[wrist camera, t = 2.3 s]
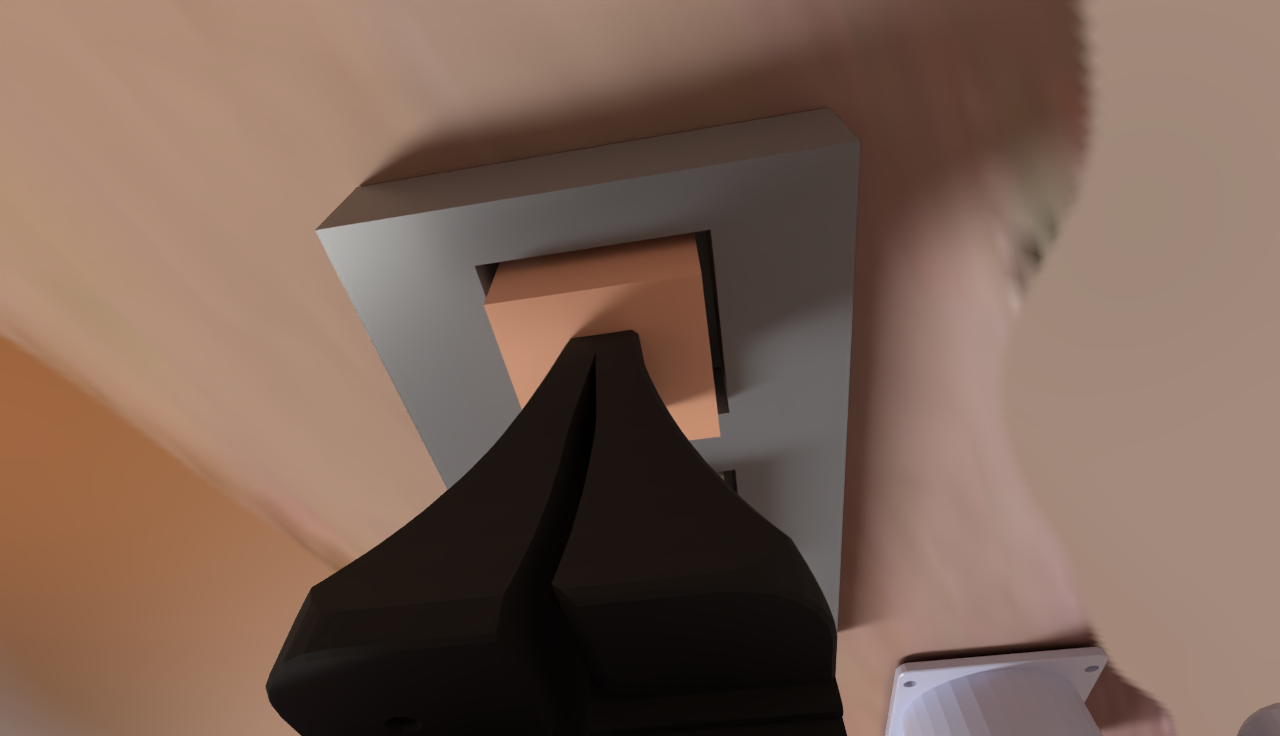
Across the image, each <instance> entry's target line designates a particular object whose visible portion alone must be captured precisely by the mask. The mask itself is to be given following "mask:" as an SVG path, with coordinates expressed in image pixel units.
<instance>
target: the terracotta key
mask: <svg viewBox="0 0 1280 736" xmlns="http://www.w3.org/2000/svg"><path fill="white" fill-rule="evenodd" d="M484 308H485V310H486V313H487V316H488V319H489V321H490V324H491V327H492V329H493V332H494V335H495V338H496V340H497V343H498V346H499V349H500V351H501V354H502V357H503V360H504V362H505V365H506V368H507V371H508V373H509V376H510V379H511V381H512V384H513V387H514V390H515V392H516V395H517V398H518V401H519V403H520V406H521V409H523V408H524V406H525V405H526V404H527V402H528V401H529V399H530V398H531V397H532V395H533V394H534V392H535V391H536V389H537V388H538V387H539V385H540V384H541V382H542V381H543V379H544V378H545V376H546V375H547V373H548V372H549V370H550V369H551V367H552V366H553V364H554V362H555V361H556V359H557V358H558V356H559V355H560V353H561V351H562V350H563V348H564V347H565V345H566V344H567V343H568V341H569V340H570V339H571V338H577V337H584V336H591V335H598V334H605V333H612V332H619V331H626V330H633V331H635V332H636V333H638V334H639V338H640V343H641V348H642V353H643V358H644V363H645V366H646V369H647V371H648V373H649V376H650V378H651V380H652V382H653V384H654V386H655V388H656V390H657V392H658V394H659V396H660V397H661V399H662V401H663V403H664V404H665V406H666V408H667V409H668V411H669V412H670V414H671V416H672V417H673V419H674V420H675V422H676V423H677V425H678V426H679V428H680V429H681V431H682V432H683V433H684V435H685V436H686V437H687V439H688V440H697V439H705V438H713V437H721V436H720V428H719V419H718V411H717V402H716V394H715V385H714V377H713V368H712V360H711V351H710V343H709V334H708V326H707V317H706V309H705V300H704V292H703V283H702V275H701V268H700V263H699V257H698V252H697V246H696V240H695V235H694V232H692V233H685V234H679V235H672V236H666V237H659V238H653V239H646V240H640V241H633V242H627V243H620V244H614V245H607V246H601V247H594V248H588V249H581V250H575V251H568V252H562V253H555V254H548V255H542V256H535V257H529V258H522V259H516V260H509V261H503V262H500V263H499V266H498V268H497V271H496V273H495V276H494V279H493V281H492V284H491V287H490V289H489V292H488V295H487V297H486V300H485V303H484Z"/></svg>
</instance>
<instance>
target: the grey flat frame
mask: <svg viewBox="0 0 1280 736" xmlns="http://www.w3.org/2000/svg"><path fill="white" fill-rule="evenodd" d="M860 149H861V141H860V140H859V139H858V138H857V136H856V135H855V134H854V133H853V132H852V131H851V130H850V129H849V128H848V127H847V126H846V125H845V124H844V123H843V122H842V121H841V120H840V118H839V117H838V116H837V115H836V114H835V113H834V112H833V111H832V110H831V109H830V108H829V107H828V108H823V109H817V110H811V111H805V112H799V113H793V114H787V115H781V116H775V117H769V118H763V119H757V120H752V121H746V122H740V123H734V124H728V125H722V126H716V127H710V128H704V129H698V130H692V131H686V132H680V133H675V134H669V135H663V136H657V137H651V138H645V139H639V140H633V141H627V142H621V143H615V144H609V145H604V146H598V147H592V148H586V149H580V150H574V151H568V152H562V153H556V154H550V155H544V156H538V157H533V158H527V159H521V160H515V161H509V162H503V163H497V164H491V165H485V166H479V167H473V168H467V169H462V170H456V171H450V172H444V173H438V174H432V175H426V176H420V177H414V178H408V179H402V180H396V181H391V182H385V183H379V184H373V185H367V186H361V187H357V188H356V189H355V190H354V191H353V192H352V193H351V194H350V195H349V196H348V197H347V198H346V199H345V200H344V201H343V202H342V203H341V204H340V205H339V206H338V207H337V208H336V209H335V210H334V211H333V212H332V213H331V214H330V215H329V216H328V217H327V218H326V220H325V221H324V222H323V223H322V224H321V225H320V226H319V227H318V228H317V229H316V230H315V231H316V233H317V235H318V237H319V239H320V241H321V243H322V245H323V247H324V249H325V251H326V253H327V255H328V257H329V259H330V261H331V263H332V265H333V267H334V268H335V270H336V272H337V274H338V276H339V278H340V280H341V282H342V284H343V286H344V288H345V290H346V292H347V294H348V296H349V298H350V300H351V302H352V304H353V306H354V308H355V310H356V311H357V313H358V315H359V317H360V319H361V321H362V323H363V325H364V327H365V329H366V331H367V333H368V335H369V337H370V339H371V341H372V343H373V345H374V347H375V349H376V351H377V353H378V354H379V356H380V358H381V360H382V362H383V364H384V366H385V368H386V370H387V372H388V374H389V376H390V378H391V380H392V382H393V384H394V386H395V388H396V390H397V392H398V394H399V396H400V397H401V399H402V401H403V403H404V405H405V407H406V409H407V411H408V413H409V415H410V417H411V419H412V421H413V423H414V425H415V427H416V429H417V431H418V433H419V435H420V437H421V439H422V441H423V442H424V444H425V446H426V448H427V450H428V452H429V454H430V456H431V458H432V460H433V462H434V464H435V466H436V468H437V470H438V472H439V474H440V476H441V478H442V480H443V482H444V484H445V485H446V487H447V489H449V488H450V487H452V486H453V485H454V484H455V483H456V482H457V481H458V480H459V479H461V478H462V477H463V476H464V475H465V474H466V473H467V472H468V471H469V470H470V469H471V468H472V467H473V466H474V465H475V464H476V463H477V462H478V461H479V460H480V459H481V458H482V457H483V456H484V455H485V454H486V453H487V452H488V451H489V450H490V448H491V447H492V446H493V445H494V444H495V443H496V442H497V441H498V439H499V438H500V437H501V436H502V435H503V433H504V432H505V431H506V430H507V428H508V427H509V426H510V424H511V423H512V422H513V421H514V419H515V418H516V417H517V416H518V414H519V413H520V412H521V411H522V409H521V406H520V403H519V401H518V398H517V395H516V392H515V390H514V387H513V384H512V381H511V379H510V376H509V373H508V371H507V368H506V365H505V362H504V360H503V357H502V354H501V351H500V349H499V346H498V343H497V340H496V338H495V335H494V332H493V329H492V327H491V324H490V321H489V319H488V316H487V313H486V310H485V308H484V303H485V300H486V297H487V295H488V292H489V289H490V287H491V284H492V281H493V279H494V276H495V273H496V271H497V268H498V266H499V263H500V262H503V261H509V260H516V259H522V258H529V257H535V256H542V255H548V254H555V253H562V252H568V251H575V250H581V249H588V248H594V247H601V246H607V245H614V244H620V243H627V242H633V241H640V240H646V239H653V238H659V237H666V236H672V235H679V234H685V233H692V232H694V235H695V240H696V246H697V252H698V257H699V263H700V268H701V275H702V283H703V292H704V300H705V309H706V317H707V326H708V334H709V343H710V351H711V360H712V368H713V377H714V385H715V394H716V402H717V411H718V419H719V428H720V436H721V437H713V438H705V439H697V440H689V441H690V443H691V444H692V445H693V446H694V448H695V449H696V450H697V451H698V453H699V454H700V455H701V456H702V457H703V458H704V460H705V461H706V462H707V463H708V464H709V465H710V466H711V467H712V469H713V470H714V471H715V472H722V471H723V474H724V480H725V482H726V483H727V484H728V485H729V486H730V487H731V488H732V489H733V490H734V491H735V492H736V493H737V494H738V495H739V496H740V497H741V498H743V499H744V500H745V501H746V502H747V503H748V504H749V505H750V506H751V507H753V508H754V509H755V510H756V511H757V512H758V513H760V514H761V515H762V516H763V517H764V518H766V519H767V520H768V521H769V522H771V523H772V524H773V525H774V526H776V527H777V528H778V529H780V530H781V531H782V532H784V533H785V534H786V535H788V536H789V537H790V538H791V539H792V540H793V542H794V544H795V545H796V547H797V548H798V550H799V552H800V553H801V555H802V556H803V558H804V560H805V561H806V563H807V564H808V566H809V568H810V570H811V571H812V573H813V575H814V576H815V578H816V580H817V582H818V584H819V586H820V588H821V590H822V592H823V594H824V596H825V598H826V600H827V603H828V605H829V608H830V610H831V613H832V615H833V618H834V621H835V626H836V631H837V628H838V607H839V586H840V565H841V544H842V524H843V503H844V482H845V461H846V440H847V420H848V399H849V378H850V357H851V336H852V316H853V295H854V274H855V253H856V232H857V212H858V191H859V170H860Z"/></svg>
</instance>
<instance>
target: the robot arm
mask: <svg viewBox="0 0 1280 736" xmlns="http://www.w3.org/2000/svg"><path fill="white" fill-rule="evenodd" d="M836 652H837V631H836V626H835V621H834V618H833V615H832V613H831V610H830V608H829V605H828V603H827V600H826V598H825V596H824V594H823V592H822V590H821V588H820V586H819V584H818V582H817V580H816V578H815V576H814V575H813V573H812V571H811V570H810V568H809V566H808V564H807V563H806V561H805V560H804V558H803V556H802V555H801V553H800V552H799V550H798V548H797V547H796V545H795V544H794V542H793V540H792V539H791V538H790V537H789V536H788V535H786V534H785V533H784V532H782V531H781V530H780V529H778V528H777V527H776V526H774V525H773V524H772V523H771V522H769V521H768V520H767V519H766V518H764V517H763V516H762V515H761V514H760V513H758V512H757V511H756V510H755V509H754V508H753V507H751V506H750V505H749V504H748V503H747V502H746V501H745V500H744V499H743V498H741V497H740V496H739V495H738V494H737V493H736V492H735V491H734V490H733V489H732V488H731V487H730V486H729V485H728V484H727V483H726V482H725V481H724V480H723V479H722V478H721V477H720V476H719V475H718V474H717V473H716V472H715V471H714V470H713V469H712V467H711V466H710V465H709V464H708V463H707V462H706V461H705V460H704V458H703V457H702V456H701V455H700V454H699V453H698V451H697V450H696V449H695V448H694V446H693V445H692V444H691V443H690V441H689V440H688V439H687V437H686V436H685V435H684V433H683V432H682V431H681V429H680V428H679V426H678V425H677V423H676V422H675V420H674V419H673V417H672V416H671V414H670V412H669V411H668V409H667V408H666V406H665V404H664V403H663V401H662V399H661V397H660V396H659V394H658V392H657V390H656V388H655V386H654V384H653V382H652V380H651V378H650V376H649V373H648V371H647V369H646V366H645V363H644V358H643V353H642V348H641V343H640V338H639V334H638V333H636V332H635V331H633V330H626V331H619V332H612V333H605V334H598V335H591V336H584V337H577V338H571V339H570V340H569V341H568V343H567V344H566V345H565V347H564V348H563V350H562V351H561V353H560V355H559V356H558V358H557V359H556V361H555V362H554V364H553V366H552V367H551V369H550V370H549V372H548V373H547V375H546V376H545V378H544V379H543V381H542V382H541V384H540V385H539V387H538V388H537V389H536V391H535V392H534V394H533V395H532V397H531V398H530V399H529V401H528V402H527V404H526V405H525V406H524V408H523V409H522V411H521V412H520V413H519V414H518V416H517V417H516V418H515V419H514V421H513V422H512V423H511V424H510V426H509V427H508V428H507V430H506V431H505V432H504V433H503V435H502V436H501V437H500V438H499V439H498V441H497V442H496V443H495V444H494V445H493V446H492V447H491V448H490V450H489V451H488V452H487V453H486V454H485V455H484V456H483V457H482V458H481V459H480V460H479V461H478V462H477V463H476V464H475V465H474V466H473V467H472V468H471V469H470V470H469V471H468V472H467V473H466V474H465V475H464V476H463V477H462V478H461V479H459V480H458V481H457V482H456V483H455V484H454V485H453V486H452V487H450V488H449V489H448V490H447V491H446V492H445V493H444V494H443V495H441V496H440V497H439V498H438V499H437V500H436V501H435V502H433V503H432V504H431V505H430V506H429V507H428V508H426V509H425V510H424V511H423V512H422V513H420V514H419V515H418V516H416V517H415V518H414V519H413V520H411V521H410V522H409V523H407V524H406V525H405V526H404V527H402V528H401V529H399V530H398V531H397V532H395V533H394V534H393V535H391V536H390V537H389V538H387V539H386V540H384V541H383V542H382V543H380V544H379V545H377V546H376V547H374V548H373V549H372V550H370V551H369V552H367V553H366V554H364V555H362V556H361V557H359V558H358V559H356V560H355V561H353V562H352V563H350V564H348V565H347V566H345V567H344V568H342V569H341V570H339V571H337V572H336V573H334V574H333V575H331V576H330V577H328V578H327V579H325V580H323V581H322V582H320V583H318V584H317V585H315V586H313V587H312V588H311V590H310V592H309V593H308V595H307V597H306V599H305V601H304V603H303V605H302V607H301V609H300V611H299V613H298V615H297V617H296V619H295V621H294V623H293V626H292V628H291V630H290V632H289V634H288V636H287V638H286V640H285V643H284V645H283V647H282V649H281V651H280V653H279V656H278V658H277V660H276V662H275V664H274V666H273V668H272V670H271V673H270V675H269V678H268V681H267V684H266V690H267V694H268V698H269V701H270V703H271V705H272V706H273V708H274V709H275V710H276V711H277V712H278V713H279V715H280V716H281V717H282V718H283V719H284V720H285V721H286V722H287V723H288V724H289V725H290V726H291V727H292V728H294V729H295V730H296V731H297V732H298V733H299V734H300V735H301V736H847V734H846V730H845V726H844V722H843V718H842V716H843V706H842V701H841V697H840V693H839V689H838V685H837V682H836V678H835V672H836ZM1107 661H1108V657H1107V655H1106V653H1105V652H1104V650H1103V649H1102V648H1099V647H1084V648H1072V649H1061V650H1049V651H1038V652H1026V653H1015V654H1003V655H992V656H980V657H968V658H957V659H945V660H934V661H922V662H911V663H904V664H902V665H900V666H898V667H897V669H896V671H895V677H894V683H893V689H892V695H891V701H890V708H889V714H888V720H887V726H886V732H885V736H1103V735H1102V733H1101V732H1100V730H1099V728H1098V726H1097V724H1096V723H1095V721H1094V719H1093V717H1092V716H1091V714H1090V712H1089V710H1088V708H1087V707H1086V705H1085V701H1086V699H1087V697H1088V696H1089V694H1090V692H1091V690H1092V688H1093V687H1094V685H1095V683H1096V681H1097V679H1098V678H1099V676H1100V674H1101V672H1102V670H1103V668H1104V667H1105V665H1106V663H1107ZM1237 736H1280V703H1275V704H1272V705H1270V706H1267V707H1264V708H1261V709H1259V710H1258V711H1256V712H1255V713H1253V714H1252V715H1250V716H1249V717H1248V718H1247V719H1246V720H1245V722H1244V723H1243V725H1242V726H1241V728H1240V730H1239V732H1238V735H1237Z"/></svg>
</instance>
